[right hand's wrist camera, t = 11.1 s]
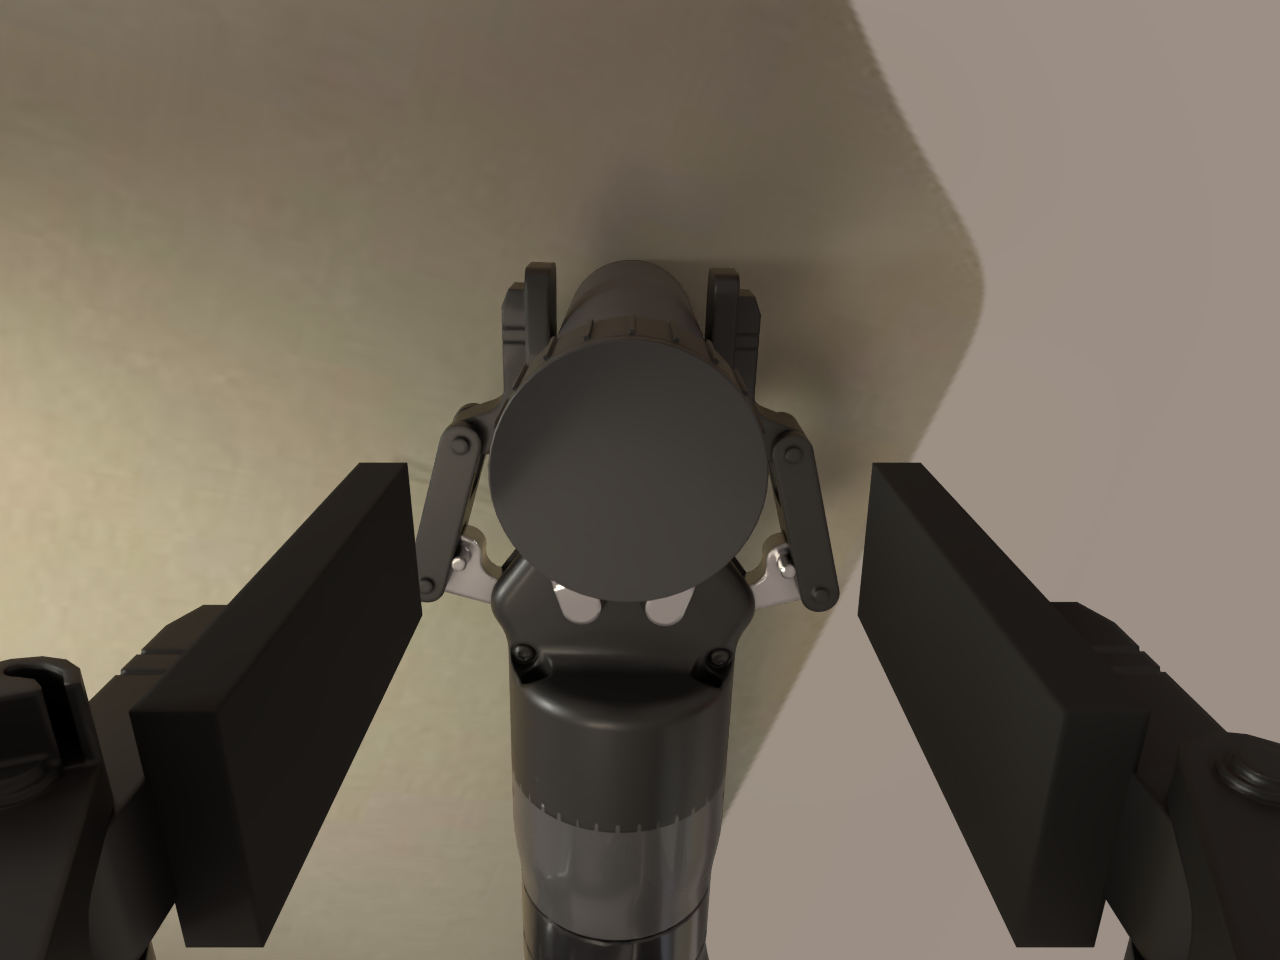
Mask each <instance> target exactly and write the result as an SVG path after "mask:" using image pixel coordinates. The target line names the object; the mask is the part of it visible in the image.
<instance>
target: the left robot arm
mask: <svg viewBox="0 0 1280 960" xmlns="http://www.w3.org/2000/svg"><path fill="white" fill-rule="evenodd" d="M739 287H740V283H739V274H738V273H737V272H736V271H735V270H734V269H730V268H710V269H709V276H708V290H707V308H706V326H705V342H706V341H707V340H709V341H711V342H712V344H713V347H714V349H715V350H716V351H717V352H718V353H719V354H720V356H721V357H722V358H723V359H724V360H725V361H726V362H727V363H728V365H729V366H730V367H731V369H732V370H734V369H737V371H738V372H739V374H740V376H741V378H742V380H743V382H744V384H745V387H746V389H747V391H748V393H749V395H747V398H748V400H749V403H750V405H751V404H753V406H754V408H755V410H756V412H757V414H758V416H759V418H760V420H761V422H762V424H763V426H764V428H765V432H766V433H765V434H763V436H764V439H765V444H766V449H767V454H768V469H769V474H770V479H771V484H772V488H773V493H774V498H775V503H776V508H777V513H778V518H779V522H780V527H781V532H780V533H776V534H773V535H771V536H770V537H769V538H767V539H766V541H765V542H764V544H763V547H762V560H761V562H760V564H759V565H758V566H757V567H756V568H755V569H754V570H752V571H750V572H747V573H746V572H745V570H744V569H743V567H742V566H741V565H740V563H739V562H738V560H737V559H736V558H735V556H734V558H733V559H732V560H731V561H730V562H729V563H728V564H727V565H726V566H724V567H723V568H722V569H721V570H720V571H718V572H717V573H716V574H715V575H713V576H712V577H710V578H709V579H707V580H705V581H704V582H702V583H701V584H699V585H697V586H695V587H693V588H691V589H688V590H686V591H684V592H681V593H678V594H675V595H672V596H669V597H666V598H661V599H656V600H651V601H642V602H614V601H607V600H600V599H596V598H592V597H588V596H585V595H581V594H579V593H576V592H574V591H571V590H569V589H566V588H564V587H563V586H561V585H559V584H557V583H555V582H553V581H552V580H550V579H549V578H547V577H546V576H544V575H543V574H542V573H540V572H539V571H537V570H536V569H535V568H534V567H533V566H532V565H531V564H530V563H529V562H528V561H527V560H525V559H524V558H523V556H522V555H521V554H520V553H519V552H518V550H517V549H515V550H514V552H513V553H512V554H511V555H510V557H509V558H508V559H507V560H506V562H505V563H504V564H503V565H502V567H499V566H497V565H495V564H494V563H492V562H491V561H490V560H489V558H488V556H487V554H486V538H485V536H484V534H483V533H482V532H481V531H480V530H479V529H478V528H476V527H473V526H470V525H468V521H469V517H470V514H471V510H472V506H473V502H474V498H475V494H476V491H477V487H478V483H479V479H480V475H481V471H482V468H483V464H484V460H485V456H486V454H489V453H490V447H491V443H492V439H493V435H494V431H495V428H493V425H494V422H495V420H496V418H497V416H498V414H499V412H500V411H501V409H502V407H503V405H504V403H505V401H506V399H510V397H511V395H512V393H513V390H512V389H511V388H512V386H513V384H514V382H515V381H516V379H517V377H518V375H519V373H520V371H521V369H522V367H523V366H524V364H527V365H528V366H529V365H530V363H531V362H532V361H533V360H534V358H535V357H536V356H537V355H538V354H539V353H540V352H541V351H542V350H543V349H544V348H545V347H547V346H548V344H549V342H550V339H551V338H552V337H554V336H555V337H556V338H557V321H556V265H555V263H544V262H531V263H530V264H529V265H528V266H527V267H526V270H525V283H521V282H515V283H514V284H513V285H512V286H511V287H510V288H509V289H508V292H507V294H506V297H505V300H504V302H503V305H502V337H503V372H504V393H503V395H501V396H500V397H499V398H497V399H494V400H491V401H488V402H485V403H482V404H477V403H469V404H466V405H464V406H463V407H461V408H460V409H459V411H458V412H457V414H456V415H455V417H454V420H453V422H452V424H450V425H449V426H448V427H447V428H446V430H445V431H444V432H443V434H442V436H441V438H440V442H439V446H438V451H437V455H436V459H435V463H434V467H433V471H432V476H431V480H430V484H429V488H428V492H427V497H426V501H425V505H424V509H423V513H422V517H421V522H420V526H419V530H418V534H417V538H416V543H415V546H416V556H417V566H418V576H419V586H420V596H421V602H433V601H436V600H438V599H439V598H440V597H441V596H442V595H443V593H444V592H448V593H452V594H456V595H459V596H463V597H467V598H471V599H475V600H478V601H482V602H486V603H490V604H491V608H492V611H493V614H494V616H495V618H496V619H497V621H498V622H499V623H500V625H501V626H502V628H503V630H504V632H505V634H506V637H507V641H508V648H509V680H510V715H511V751H512V784H513V815H514V829H515V835H516V841H517V846H518V850H519V855H520V860H521V867H522V900H523V929H524V957H525V960H709V958H708V953H707V949H706V943H705V941H706V932H707V918H708V905H709V892H710V878H711V869H712V864H713V860H714V856H715V853H716V849H717V845H718V841H719V836H720V830H721V823H722V811H723V799H724V787H725V775H726V762H727V748H728V737H729V724H730V711H731V698H732V685H733V673H734V660H735V650H736V646H737V643H738V640H739V638H740V636H741V634H742V633H743V631H744V630H745V628H746V627H747V626H748V624H749V623H750V621H751V620H752V618H753V615H754V611H755V609H760V608H764V607H769V606H774V605H778V604H783V603H787V602H792V601H796V600H802V603H803V604H804V606H805V607H806V608H808V609H809V610H812V611H815V612H822V611H826V610H829V609H830V608H832V607H833V606H834V605H835V604H836V603H837V601H838V599H839V594H840V593H839V586H838V581H837V576H836V570H835V565H834V559H833V554H832V549H831V543H830V538H829V532H828V527H827V522H826V516H825V511H824V505H823V500H822V495H821V489H820V484H819V478H818V473H817V468H816V462H815V457H814V451H813V447H812V445H811V443H810V442H809V440H808V438H807V437H806V435H805V434H804V432H803V430H802V429H801V427H800V426H799V424H798V422H797V421H796V419H795V418H794V417H793V416H792V415H790V414H788V413H785V412H774V411H772V410H769V409H767V408H764V407H762V406H760V405H759V404H757V403H756V402H755V382H756V370H757V357H758V345H759V332H760V319H761V314H760V311H759V308H758V304H757V301H756V298H755V296H754V295H753V294H752V293H751V292H750V290H745V289H739Z"/></svg>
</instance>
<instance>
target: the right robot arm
mask: <svg viewBox="0 0 1280 960" xmlns="http://www.w3.org/2000/svg"><path fill="white" fill-rule="evenodd" d="M421 617H422V606H421V596H420V586H419V576H418V566H417V556H416V546H415V536H414V526H413V516H412V506H411V495H410V485H409V475H408V465H407V463H359V464H358V465H357V466H356V467H355V468H354V469H353V470H352V471H351V472H350V473H349V474H348V476H347V477H346V478H345V479H344V480H343V481H342V482H341V483H340V484H339V485H338V486H337V487H336V488H335V490H334V491H333V492H332V493H331V494H330V495H329V496H328V497H327V498H326V499H325V500H324V501H323V502H322V504H321V505H320V506H319V507H318V508H317V509H316V510H315V511H314V512H313V513H312V514H311V515H310V516H309V518H308V519H307V520H306V521H305V522H304V523H303V524H302V525H301V526H300V527H299V528H298V529H297V530H296V532H295V533H294V534H293V535H292V536H291V537H290V538H289V539H288V540H287V541H286V542H285V543H284V545H283V546H282V547H281V548H280V549H279V550H278V551H277V552H276V553H275V554H274V555H273V556H272V557H271V559H270V560H269V561H268V562H267V563H266V564H265V565H264V566H263V567H262V568H261V569H260V570H259V571H258V573H257V574H256V575H255V576H254V577H253V578H252V579H251V580H250V581H249V582H248V583H247V584H246V585H245V587H244V588H243V589H242V590H241V591H240V592H239V593H238V594H237V595H236V596H235V597H234V598H233V599H232V601H231V602H230V603H229V604H228V605H202V606H201V607H199V608H197V609H195V610H193V611H192V612H190V613H188V614H186V615H184V616H183V617H181V618H179V619H177V620H175V621H173V622H172V623H170V624H168V625H166V626H165V627H164V628H163V629H162V630H161V631H160V632H159V633H158V634H157V635H156V636H155V637H154V638H153V639H152V640H151V641H150V642H149V643H148V644H147V645H146V646H145V647H144V648H143V649H142V652H141V655H136V656H135V657H134V658H133V659H132V660H131V661H130V662H129V663H127V664H126V665H125V666H124V667H123V668H122V669H121V674H120V675H115V676H114V677H113V678H112V679H111V680H110V681H109V682H108V683H107V684H106V685H105V686H104V687H103V688H102V689H101V690H100V691H99V692H98V693H97V694H96V695H95V696H94V697H93V698H92V699H91V700H90V701H88V697H87V694H86V690H85V686H84V682H83V678H82V675H81V671H80V668H78V667H77V666H75V665H74V664H72V663H71V662H69V661H68V660H66V659H59V658H51V657H44V656H40V657H29V658H17V659H9V660H5V661H1V662H0V960H156V957H155V953H154V950H153V946H152V942H151V940H152V938H153V937H154V935H155V934H156V932H157V930H158V929H159V927H160V926H161V924H162V922H163V921H164V919H165V918H166V916H167V914H168V913H169V911H170V910H171V908H172V906H173V905H174V903H175V905H176V909H177V913H178V917H179V921H180V925H181V929H182V933H183V937H184V941H185V946H186V947H264V945H265V943H266V941H267V939H268V937H269V935H270V933H271V931H272V928H273V926H274V924H275V922H276V920H277V918H278V916H279V914H280V912H281V910H282V908H283V905H284V903H285V901H286V899H287V897H288V895H289V893H290V891H291V889H292V887H293V885H294V882H295V880H296V878H297V876H298V874H299V872H300V870H301V868H302V866H303V864H304V862H305V859H306V857H307V855H308V853H309V851H310V849H311V847H312V845H313V843H314V841H315V839H316V836H317V834H318V832H319V830H320V828H321V826H322V824H323V822H324V820H325V818H326V816H327V813H328V811H329V809H330V807H331V805H332V803H333V801H334V799H335V797H336V795H337V793H338V790H339V788H340V786H341V784H342V782H343V780H344V778H345V776H346V774H347V772H348V770H349V767H350V765H351V763H352V761H353V759H354V757H355V755H356V753H357V751H358V749H359V747H360V744H361V742H362V740H363V738H364V736H365V734H366V732H367V730H368V728H369V726H370V724H371V721H372V719H373V717H374V715H375V713H376V711H377V709H378V707H379V705H380V703H381V701H382V698H383V696H384V694H385V692H386V690H387V688H388V686H389V684H390V682H391V680H392V678H393V675H394V673H395V671H396V669H397V667H398V665H399V663H400V661H401V659H402V657H403V655H404V652H405V650H406V648H407V646H408V644H409V642H410V640H411V638H412V636H413V634H414V632H415V629H416V627H417V625H418V623H419V621H420V619H421ZM858 617H859V619H860V621H861V623H862V625H863V627H864V629H865V632H866V634H867V636H868V638H869V640H870V642H871V644H872V646H873V648H874V650H875V652H876V654H877V657H878V659H879V661H880V663H881V665H882V667H883V669H884V671H885V673H886V675H887V678H888V680H889V682H890V684H891V686H892V688H893V690H894V692H895V694H896V696H897V698H898V701H899V703H900V705H901V707H902V709H903V711H904V713H905V715H906V717H907V719H908V721H909V724H910V726H911V728H912V730H913V732H914V734H915V736H916V738H917V740H918V742H919V744H920V747H921V749H922V751H923V753H924V755H925V757H926V759H927V761H928V763H929V765H930V767H931V769H932V772H933V774H934V776H935V778H936V780H937V782H938V784H939V786H940V788H941V790H942V792H943V795H944V797H945V799H946V801H947V803H948V805H949V807H950V809H951V811H952V813H953V816H954V818H955V820H956V822H957V824H958V826H959V828H960V830H961V832H962V834H963V836H964V838H965V841H966V843H967V845H968V847H969V849H970V851H971V853H972V855H973V857H974V859H975V862H976V864H977V866H978V868H979V870H980V872H981V874H982V876H983V878H984V880H985V882H986V885H987V887H988V889H989V891H990V893H991V895H992V897H993V899H994V901H995V903H996V905H997V908H998V910H999V912H1000V914H1001V916H1002V918H1003V920H1004V922H1005V924H1006V926H1007V928H1008V931H1009V933H1010V935H1011V937H1012V939H1013V941H1014V943H1015V945H1016V947H1094V946H1095V941H1096V937H1097V933H1098V929H1099V925H1100V921H1101V917H1102V913H1103V909H1104V905H1105V901H1106V900H1107V902H1108V903H1109V905H1110V907H1111V908H1112V910H1113V911H1114V913H1115V915H1116V916H1117V918H1118V919H1119V921H1120V922H1121V924H1122V926H1123V927H1124V929H1125V930H1126V932H1127V934H1128V935H1129V937H1130V938H1129V942H1128V946H1127V950H1126V953H1125V957H1124V960H1280V743H1276V742H1273V741H1269V740H1266V739H1262V738H1259V737H1255V736H1251V735H1248V734H1240V733H1229V732H1226V731H1225V730H1224V729H1223V728H1222V727H1221V726H1220V725H1219V724H1218V723H1217V722H1216V721H1215V720H1214V719H1213V718H1212V717H1211V716H1210V715H1209V714H1208V713H1207V712H1206V711H1205V710H1204V709H1203V708H1202V707H1201V706H1200V705H1199V704H1198V703H1197V702H1196V701H1195V700H1193V699H1192V698H1191V697H1190V696H1189V695H1188V694H1187V693H1186V692H1185V691H1184V690H1183V689H1182V688H1181V687H1180V686H1179V685H1178V684H1177V683H1176V682H1175V681H1174V680H1173V679H1172V678H1171V677H1170V676H1169V675H1168V674H1167V673H1166V672H1160V666H1159V665H1158V664H1157V663H1156V662H1155V661H1153V660H1152V659H1151V658H1150V657H1149V656H1148V655H1147V654H1146V653H1145V652H1144V651H1140V650H1139V646H1138V645H1137V644H1136V643H1135V642H1134V641H1133V640H1132V639H1131V638H1130V637H1129V636H1128V635H1127V634H1126V633H1125V632H1124V631H1123V630H1122V629H1121V628H1120V627H1119V626H1118V625H1117V624H1115V623H1114V622H1112V621H1111V620H1109V619H1107V618H1105V617H1103V616H1102V615H1100V614H1098V613H1096V612H1094V611H1093V610H1091V609H1089V608H1087V607H1085V606H1083V605H1082V604H1080V603H1078V602H1049V601H1048V599H1047V598H1046V597H1045V596H1044V595H1043V594H1042V593H1041V592H1040V591H1039V590H1038V589H1037V588H1036V587H1035V585H1034V584H1033V583H1032V582H1031V581H1030V580H1029V579H1028V578H1027V577H1026V576H1025V575H1024V574H1023V573H1022V572H1021V570H1020V569H1019V568H1018V567H1017V566H1016V565H1015V564H1014V563H1013V562H1012V561H1011V560H1010V559H1009V557H1008V556H1007V555H1006V554H1005V553H1004V552H1003V551H1002V550H1001V549H1000V548H999V547H998V546H997V545H996V543H995V542H994V541H993V540H992V539H991V538H990V537H989V536H988V535H987V534H986V533H985V532H984V530H983V529H982V528H981V527H980V526H979V525H978V524H977V523H976V522H975V521H974V520H973V519H972V518H971V516H970V515H969V514H968V513H967V512H966V511H965V510H964V509H963V508H962V507H961V506H960V505H959V504H958V502H957V501H956V500H955V499H954V498H953V497H952V496H951V495H950V494H949V493H948V492H947V491H946V490H945V489H944V487H943V486H942V485H941V484H940V483H939V482H938V481H937V480H936V479H935V478H934V477H933V476H932V474H931V473H930V472H929V471H928V470H927V469H926V468H925V467H924V466H923V465H922V464H921V463H873V465H872V475H871V485H870V495H869V506H868V516H867V526H866V536H865V546H864V556H863V566H862V576H861V586H860V596H859V606H858Z"/></svg>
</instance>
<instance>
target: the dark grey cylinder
mask: <svg viewBox="0 0 1280 960" xmlns="http://www.w3.org/2000/svg"><path fill="white" fill-rule="evenodd" d="M629 313H634V314H635V317H643V318H649V319H655V320H660V321H663V322H667V323H670V321H671V320H672V321H675V322H676V325H677V326H678V327H680V328H682V329H685V330H687V331H689V332H691V333H692V334H694V335H696V336H697V337H699V338H700V339H702V340H703V341H704V338H703V336H702V333H701V330H700V328H699V325H698V323H697V320H696V318H695V315H694V312H693V310H692V307H691V305H690V302H689V300H688V297H687V295H686V293H685V291H684V290H683V288H682V287H681V285H680V284H679V283H678V282H677V281H676V279H675V278H674V277H672V276H671V275H670V274H669V273H668V272H666V271H665V270H663V269H662V268H660V267H658V266H656V265H653V264H650V263H647V262H643V261H637V260H625V261H618V262H614V263H611V264H608V265H605V266H603V267H601V268H600V269H598V270H596V271H595V272H594V273H592V274H591V275H590V276H589V277H588V278H587V279H586V280H585V281H584V282H583V283H582V284H581V286H580V287H579V289H578V290H577V292H576V294H575V296H574V298H573V300H572V303H571V305H570V307H569V310H568V312H567V315H566V317H565V319H564V322H563V324H562V326H561V329H560V331H559V334H558V336H557V338H559V337H560V336H562V335H564V334H565V333H567V332H569V331H571V330H573V329H575V328H577V327H580V326H582V325H585V324H587V321H588V319H592V318H593V321H598V320H603V319H607V318H616V317H629Z"/></svg>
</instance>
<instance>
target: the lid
mask: <svg viewBox="0 0 1280 960" xmlns="http://www.w3.org/2000/svg"><path fill="white" fill-rule="evenodd" d="M511 389H512V390H513V393H512V395H511V397H510V399H506V401H505V403H504V405H503V407H502V409H501V411H500V412H499V414H498V416H497V418H496V420H495V422H494V425H493V428H495V431H494V435H493V439H492V443H491V447H490V455H489V463H488V472H489V486H490V492H491V499H492V502H493V505H494V508H495V512H496V515H497V517H498V519H499V521H500V524H501V526H502V528H503V530H504V532H505V533H506V535H507V536H508V538H509V540H510V541H511V543H512V544H513V546H514V547H515V548H516V549H517V550H518V552H519V553H520V554H521V555H522V556H523V558H524V559H525V560H527V561H528V562H529V563H530V564H531V565H532V566H533V567H534V568H535V569H536V570H537V571H539V572H540V573H542V574H543V575H544V576H546V577H547V578H549V579H550V580H552V581H553V582H555V583H557V584H559V585H561V586H563V587H564V588H566V589H569V590H571V591H574V592H576V593H579V594H581V595H585V596H588V597H592V598H596V599H600V600H607V601H614V602H642V601H651V600H656V599H661V598H666V597H669V596H672V595H675V594H678V593H681V592H684V591H686V590H688V589H691V588H693V587H695V586H697V585H699V584H701V583H702V582H704V581H705V580H707V579H709V578H710V577H712V576H713V575H715V574H716V573H717V572H718V571H720V570H721V569H722V568H723V567H724V566H726V565H727V564H728V563H729V562H730V561H731V560H732V559H733V558H734V556H735V555H736V554H737V553H738V552H739V551H740V550H741V548H742V547H743V546H744V544H745V543H746V541H747V540H748V539H749V537H750V535H751V533H752V532H753V530H754V528H755V526H756V524H757V522H758V520H759V517H760V514H761V512H762V509H763V506H764V502H765V498H766V493H767V486H768V476H769V469H768V454H767V449H766V444H765V439H764V436H763V434H765V433H766V432H765V428H764V426H763V424H762V422H761V420H760V418H759V416H758V414H757V412H756V410H755V408H754V406H753V404H751V405H750V403H749V400H748V398H747V395H749V393H748V391H747V389H746V387H745V384H744V382H743V380H742V378H741V376H740V374H739V372H738V371H737V369H734V370H732V369H731V367H730V366H729V365H728V363H727V362H726V361H725V360H724V359H723V358H722V357H721V356H720V354H719V353H718V352H717V351H716V350H715V349H714V347H713V344H712V342H711V341H709V340H707V341H706V342H705V341H703V340H702V339H700V338H699V337H697V336H696V335H694V334H692V333H691V332H689V331H687V330H685V329H682V328H680V327H678V326H677V325H676V322H675V321H672V320H671V321H670V323H667V322H663V321H660V320H655V319H649V318H643V317H635V314H634V313H629V317H616V318H607V319H603V320H598V321H593V318H592V319H588V321H587V324H585V325H582V326H580V327H577V328H575V329H573V330H571V331H569V332H567V333H565V334H564V335H562V336H560V337H559V338H556V337H555V336H554V337H552V338H551V339H550V342H549V344H548V346H547V347H545V348H544V349H543V350H542V351H541V352H540V353H539V354H538V355H537V356H536V357H535V358H534V360H533V361H532V362H531V363H530V365H529V366H528V365H527V364H524V366H523V367H522V369H521V371H520V373H519V375H518V377H517V379H516V381H515V382H514V384H513V386H512V388H511Z"/></svg>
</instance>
